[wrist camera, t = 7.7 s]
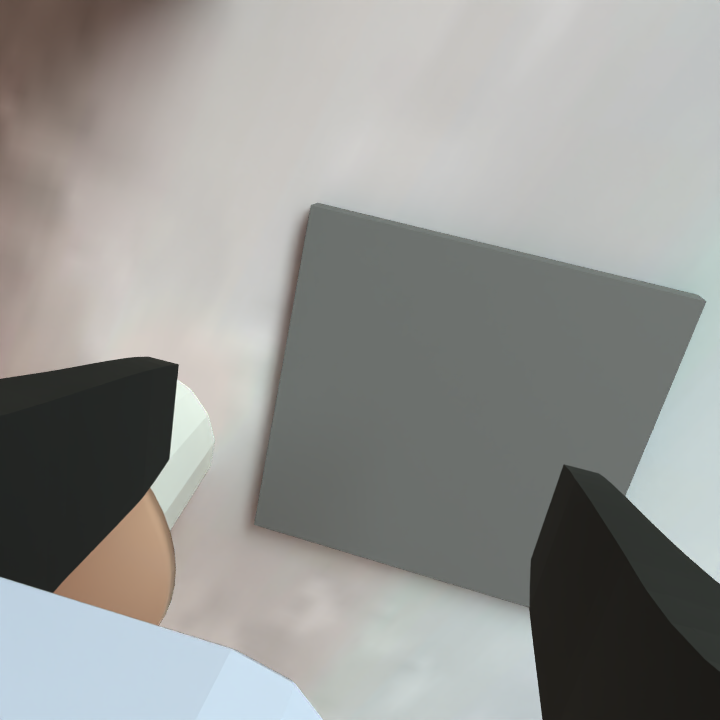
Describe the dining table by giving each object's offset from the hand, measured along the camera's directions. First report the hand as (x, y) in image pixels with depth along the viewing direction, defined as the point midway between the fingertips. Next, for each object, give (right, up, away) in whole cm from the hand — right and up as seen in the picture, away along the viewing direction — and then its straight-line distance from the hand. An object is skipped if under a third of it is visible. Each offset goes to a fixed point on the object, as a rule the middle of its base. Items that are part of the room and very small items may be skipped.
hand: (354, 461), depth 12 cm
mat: (+3, 0, +11) cm, 11 cm away
